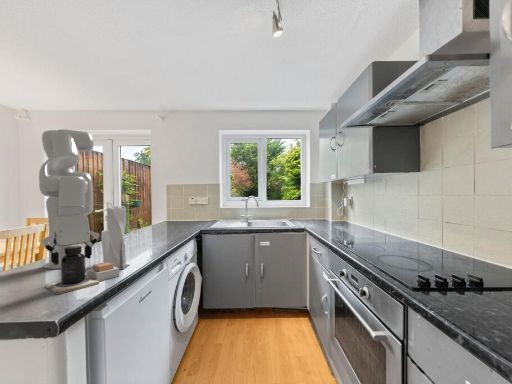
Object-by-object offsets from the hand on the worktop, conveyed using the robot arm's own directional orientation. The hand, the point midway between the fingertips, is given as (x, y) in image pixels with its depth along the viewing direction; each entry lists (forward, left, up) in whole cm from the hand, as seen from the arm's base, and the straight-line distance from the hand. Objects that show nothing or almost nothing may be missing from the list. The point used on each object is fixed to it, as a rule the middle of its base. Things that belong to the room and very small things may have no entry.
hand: (72, 260), depth 92 cm
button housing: (0, +10, -8) cm, 13 cm away
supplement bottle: (0, 0, -8) cm, 8 cm away
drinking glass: (-19, +22, -9) cm, 30 cm away
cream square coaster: (+1, 0, -8) cm, 8 cm away
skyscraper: (-9, +20, -9) cm, 24 cm away
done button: (0, +10, -6) cm, 12 cm away
